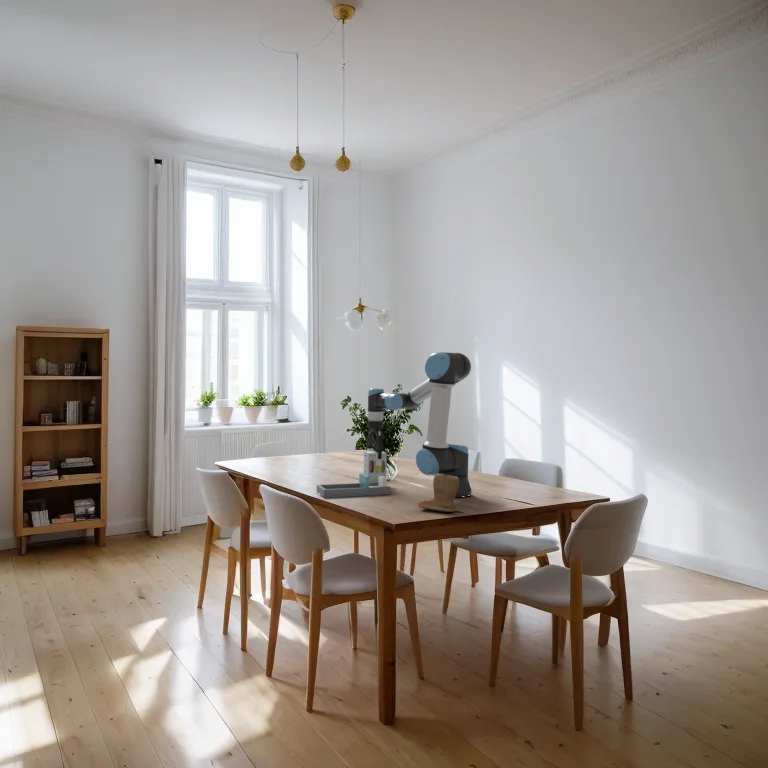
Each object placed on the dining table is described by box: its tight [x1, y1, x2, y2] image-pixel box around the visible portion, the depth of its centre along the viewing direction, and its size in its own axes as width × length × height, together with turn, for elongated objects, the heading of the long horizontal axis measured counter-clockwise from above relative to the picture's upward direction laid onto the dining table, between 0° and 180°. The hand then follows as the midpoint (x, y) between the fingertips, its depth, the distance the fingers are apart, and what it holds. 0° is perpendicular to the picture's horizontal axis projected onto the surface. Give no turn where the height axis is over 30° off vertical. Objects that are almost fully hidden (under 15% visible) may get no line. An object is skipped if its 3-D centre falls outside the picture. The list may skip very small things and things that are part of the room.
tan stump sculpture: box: [417, 473, 460, 513], centre depth 275 cm, size 15×12×15 cm
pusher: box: [358, 472, 388, 488], centre depth 314 cm, size 11×11×7 cm
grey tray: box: [316, 482, 391, 498], centre depth 311 cm, size 14×31×4 cm, turn 109°
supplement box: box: [363, 450, 388, 483], centre depth 331 cm, size 10×9×17 cm
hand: (374, 463), depth 331 cm, fingers open, 13 cm apart
